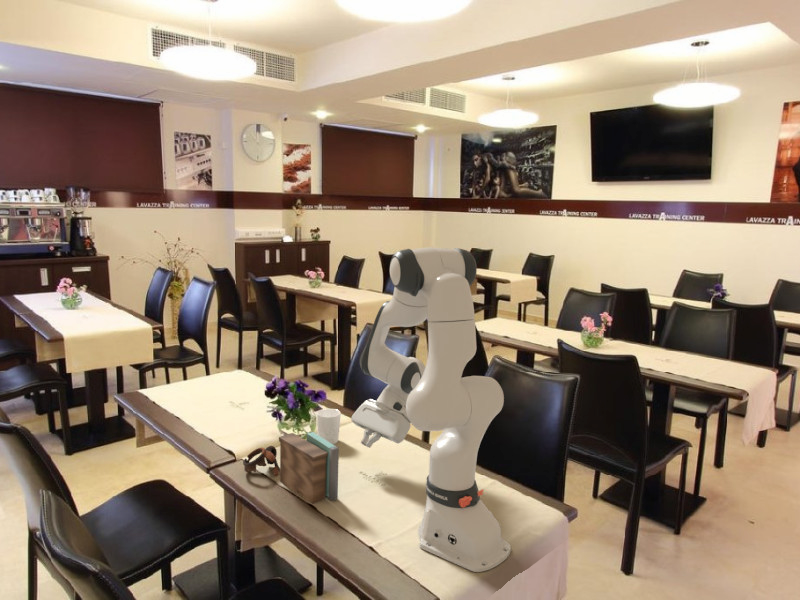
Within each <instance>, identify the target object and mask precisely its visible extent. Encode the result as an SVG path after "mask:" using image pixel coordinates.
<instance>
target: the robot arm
mask: <svg viewBox="0 0 800 600" xmlns="http://www.w3.org/2000/svg"><path fill="white" fill-rule="evenodd" d="M476 277H477V262H476V259H475V257H474V256H473V254H472V252H470V251H469V250H468V249H464V248H458V247H457V248H444V247H433V246H430V247H419V248H413V249H412V248H405V249H401V250H399V251H396V252H395V253H394V254H393V255H392V257H391V259H390V262H389V279H390V280H391V283H392V285H393V286H394V289H393V295H392V298H391V299H390V300H387V301H385V302H384V303H383V304H382V305H381V306H380V308H379V310H378V311H377V314H376V317H375V319H374V322H373V325H372V326H371V331H370V332H369V336H368V339H367V342H366V345H365V346H364V348H363V351H362V353H361V354H360V357H359V366H360V368H361V371H362V373H363V374H364V375H366V376H367V375H368V376H370V377H372V378H375V379H377V380H379V381H380V382H383V383H384V384H386V386H385V388H384V389H382V392H381V393H380V395H379V396H378V398H377V399H376V400H374V399H373V398H369V399H367V400H364V402H363V403H361V405H359V407H358V408H357V409H356V410H355V411H354V413H353V414H352V416H351V418H350V419H351V422H352V423H353V424H354V425H355V426H356V427H359V428H362V429H364V430H363V431H364V432H363V437H362V439H361V441H360V444H362V445H363V446H364V447H367V448H371V447H372V446H373V444H374V443H377V442H378V441H380V439H381V437H382V438H384V439H386V440H388V441H390V442H393V443H395V444H401V443H402V442H404V440H405V439H406V437H407V435H408V434H409V431H410V430H411V426H413V427H414V428H415V429H416V430H418V431H422V432H441V431H442V433H441V434H440V435H438V437H437V438H436V439H435V440H434V441H433V442H432V444H431V446H430V449H429V463H428V464H429V465H428V475H427V478H426V482H425V483H426V484H425V494H426V502H425V508H424V513H423V517H422V520H421V523H420V526H419V529H418V535H419V537H420V541H419V548H420V549H421V550H424V551H426V552H428V553H430V554H433V555H435V556H438V557H439V558H442V559H444V560H446V561H448V562H450V563H452V564H455V565H457V566H460V567H461V568H464V569H466V570H469V571H471V572H474V573H481V572H485V571H489V570H491V569H493V568H495V567H497V566H499V565H500V564H501V563H503V562H504V561H505V560H506V559H507V558H508V557H509V556H510V554H511V551H512V550H511V544H510V543H509V541H506V540H505V539H504V538H503V537H502V530H501V525H500V523H499V521H498V520H497V519H496V518H495V517H494V514H493V512H492V511H491V510H489V508H488V507H487V506H486V505H485V504H484V503H483V501H482V500H481V496H482V495H484V490H485V489H483V488H482V489H481V490H479V488H478V484H477V480H476V470H477V469H476V468H477V460H478V459H477V458H478V452H479V448H480V445H481V442H482V440H483V438H484V435H485V434H486V431H487V430H488V428H489V426H490V425H491V422H492V421H493V420H494V419H495V418H496V416H497V415H498V414H499V413H500V412H501V411H502V409H503V407H504V402H505V400H504V399H505V397H504V396H505V395H504V391H503V389H502V387H501V385H500V384H499V382H498V381H497V380H496V379H494V377H491V376H483V375H471V376H464V377H462V376H463V372H464V369H465V367H466V366H467V364H468V363H469V361H471V360H473V358H474V356H475V355H476V352H477V347H478V346H477V334H476V331H477V330H476V317H475V316H476V315H475V308H474V300H473V295H472V290H471V286H472V284H473V283H474V281H475V280H476ZM425 321H427V330H428V331H427V333H428V334H427V335H428V339H427V340H428V342H427V343H428V353H427V360H426V364H424V363H423V362H422V360H420V359H418V358H416V357H413V356H409V357H407V356H405V355H403V354H402V353H399V352H397V351H395V350H393V349H390V348H389V347H388V346H387V345H386V339H387V337H388V335H389V331H390V328H391V327H402V328H409V327H415V326H418V325H421V324H423V323H424V322H425ZM370 436H371V437H370Z"/></svg>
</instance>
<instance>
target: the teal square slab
mask: <svg viewBox="0 0 800 600" xmlns="http://www.w3.org/2000/svg"><path fill="white" fill-rule="evenodd" d="M306 441H308V442H310V443H312V444H313V445H315V446H317V447H319V448H320V449H322V450H324V451H326V452H328V457H326V485H325V497H327V498H328V499H329V500H330V501H331V500H332V501H333V500H334V501H335V500H337V499H338V498H339V496H338V494H339V493H338V492H339V488H338V487H339V460H340V459H339V458H340V457H339V456H340V453H339V452H340V451H339V450H340V449H339V448H340V447H339V446H336V445H335V444H331V443H330V442H328V441H327V440H325V439H323V438H322V437H320V436H319V435H318V433H315V432H314V431H312V432H308V433H306Z"/></svg>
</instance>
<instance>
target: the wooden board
mask: <svg viewBox="0 0 800 600" xmlns="http://www.w3.org/2000/svg"><path fill="white" fill-rule="evenodd" d="M278 442H280V443H279V448H280V449H279V450H280V451H279V452H280V457H279V459H280V460H279V461H280V462H279V466H280V467H279V469H280V472H279V481H280V482H281V483H282V482H283V483H282V484H284V486H287V487H288V488H289V489H291V490H292V491H293V492H295V493H297V494H298V495H300V496H301V497H303V498H304V499H306V501H308V502H310V503H311V504H316V503H318V502H321V501H323V500H325V499H326V495H325V485H326V457H328V452H326V451H324V450H322V449H320V448H319V447H317V446H315V445H313V444H312V443H310V442H308V441H307V439H304V438H303V437H300V436H299V435H298V434H295V433H294V432H292V433H287V434H284V435H282V436H278Z"/></svg>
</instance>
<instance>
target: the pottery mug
mask: <svg viewBox="0 0 800 600" xmlns="http://www.w3.org/2000/svg"><path fill="white" fill-rule="evenodd" d="M257 455H258V457H256V456H257ZM246 457H247V458H248V459H247V458H244V459H243V461H242V464H243V466H244V472H246V473H247V472H248V473H249V472H253V473H257V466H258V467H267V464H268V465H274V468H273V470H272V473H273V475H274V477H275V476H276V477H277V476H278V475H280V467H279V466H280V465H279V464H278V461H277V448H276V447H275V446H273V445H270V446H267V447H266V448H265V447H259V448H256V449H254V450H253V451H251V452H250V453H249V454H248V455H247V456H246ZM254 457H256V458H255V459H253V458H254ZM251 460H252V461H251Z"/></svg>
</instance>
